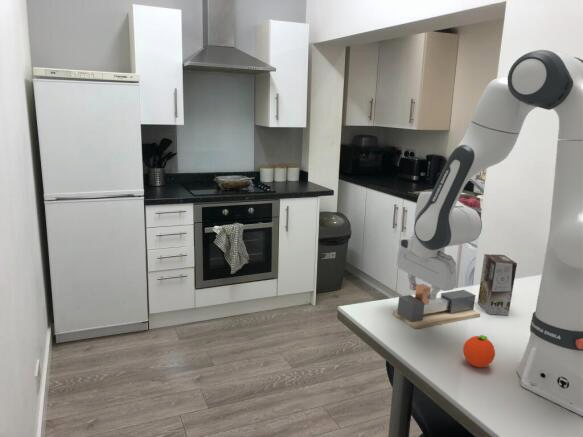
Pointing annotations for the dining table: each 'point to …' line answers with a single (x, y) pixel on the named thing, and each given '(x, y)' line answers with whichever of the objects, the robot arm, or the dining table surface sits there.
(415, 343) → the dining table surface
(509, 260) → the coffee box
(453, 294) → the sleeve
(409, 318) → the socket block
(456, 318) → the oak board
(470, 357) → the clementine
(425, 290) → the bar
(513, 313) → the dining table surface
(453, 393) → the dining table surface
